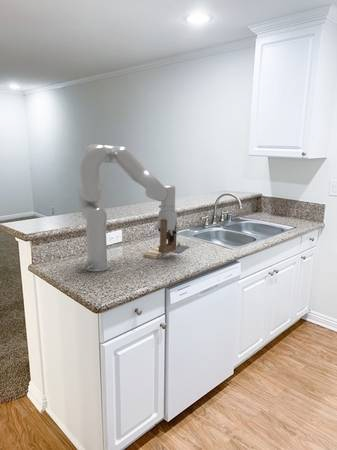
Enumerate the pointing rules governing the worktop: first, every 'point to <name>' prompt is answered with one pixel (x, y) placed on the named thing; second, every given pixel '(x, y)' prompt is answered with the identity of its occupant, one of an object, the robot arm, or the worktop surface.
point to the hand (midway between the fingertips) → (167, 241)
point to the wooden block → (164, 236)
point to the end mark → (180, 249)
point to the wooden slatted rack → (156, 252)
